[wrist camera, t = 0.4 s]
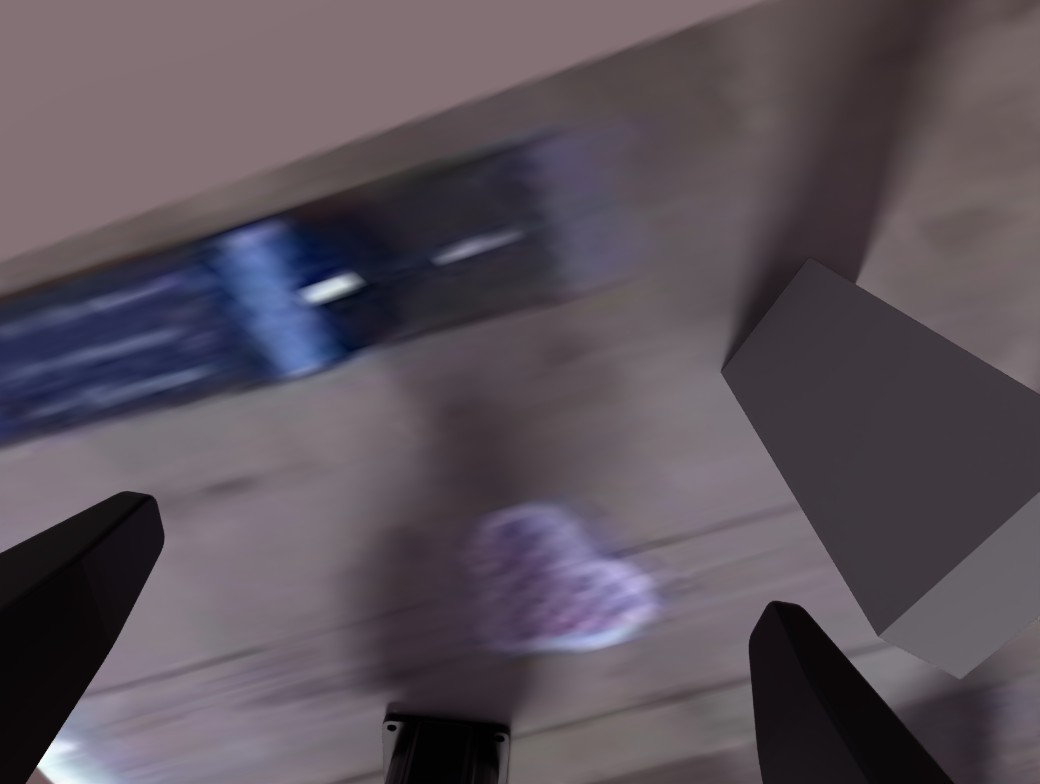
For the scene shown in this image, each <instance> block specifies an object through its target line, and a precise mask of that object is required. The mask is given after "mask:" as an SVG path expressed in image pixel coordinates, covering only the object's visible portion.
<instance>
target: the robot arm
mask: <svg viewBox="0 0 1040 784" xmlns="http://www.w3.org/2000/svg"><path fill="white" fill-rule="evenodd" d="M164 537H165V536H164V530H163V525H162V521H161V517H160V513H159V508H158V504H157V501H156V499H155V498H154V497H153V496H151V495H149V494H143V493H137V492H131V491H124V492H120V493H118V494H116V495H114V496H112V497H110V498H108V499H106V500H104V501H102V502H100V503H98V504H96V505H94V506H92V507H90V508H88V509H86V510H84V511H82V512H80V513H78V514H76V515H74V516H72V517H70V518H69V519H67V520H65V521H63V522H61V523H59V524H57V525H55V526H53V527H51V528H49V529H47V530H45V531H43V532H41V533H39V534H37V535H35V536H33V537H31V538H29V539H27V540H25V541H23V542H21V543H19V544H18V545H16V546H14V547H12V548H10V549H8V550H6V551H4V552H2V553H0V784H26V782H27V780H28V779H29V777H30V776H31V774H32V773H33V771H34V770H35V768H36V766H37V765H38V763H39V762H40V760H41V759H42V757H43V756H44V754H45V752H46V751H47V749H48V748H49V746H50V745H51V743H52V741H53V740H54V738H55V737H56V735H57V734H58V732H59V731H60V729H61V727H62V726H63V724H64V723H65V721H66V720H67V718H68V717H69V715H70V713H71V712H72V710H73V709H74V707H75V706H76V704H77V703H78V701H79V699H80V698H81V696H82V695H83V693H84V692H85V690H86V688H87V687H88V685H89V684H90V682H91V681H92V679H93V678H94V676H95V674H96V673H97V671H98V670H99V668H100V667H101V665H102V664H103V662H104V660H105V659H106V657H107V655H108V654H109V652H110V650H111V649H112V647H113V645H114V643H115V641H116V640H117V638H118V636H119V634H120V632H121V630H122V628H123V626H124V624H125V622H126V620H127V618H128V616H129V614H130V612H131V610H132V608H133V607H134V605H135V603H136V601H137V599H138V597H139V595H140V593H141V591H142V589H143V587H144V585H145V583H146V581H147V579H148V577H149V575H150V573H151V571H152V569H153V567H154V565H155V563H156V561H157V559H158V557H159V555H160V553H161V551H162V548H163V545H164ZM749 660H750V672H751V684H752V695H753V707H754V718H755V730H756V741H757V750H758V758H759V764H760V770H761V776H762V781H763V784H956V783H955V782H954V781H953V780H952V779H951V778H950V776H949V775H948V774H947V773H946V772H945V771H944V770H943V768H942V767H941V766H940V765H939V764H938V763H937V761H936V760H935V759H934V758H933V757H932V756H931V755H930V753H929V752H928V751H927V750H926V749H925V748H924V746H923V745H922V744H921V743H920V742H919V741H918V740H917V738H916V737H915V736H914V735H913V734H912V733H911V731H910V730H909V729H908V728H907V727H906V726H905V724H904V723H903V722H902V721H901V720H900V719H899V718H898V716H897V715H896V714H895V713H894V712H893V711H892V709H891V708H890V707H889V706H888V705H887V704H886V703H885V701H884V700H883V699H882V698H881V697H880V696H879V694H878V693H877V692H876V691H875V690H874V689H873V688H872V686H871V685H870V684H869V683H868V682H867V681H866V679H865V678H864V677H863V676H862V675H861V674H860V673H859V671H858V670H857V669H856V668H855V667H854V666H853V664H852V663H851V662H850V661H849V660H848V659H847V658H846V656H845V655H844V654H843V653H842V652H841V651H840V649H839V648H838V647H837V646H836V645H835V644H834V643H833V641H832V640H831V639H830V638H829V637H828V636H827V634H826V633H825V632H824V631H823V630H822V629H821V628H820V626H819V625H818V624H817V623H816V622H815V621H814V619H813V618H812V617H811V616H810V615H809V614H808V612H807V611H806V610H805V609H804V608H802V607H801V606H800V605H797V604H793V603H787V602H782V601H772V602H770V603H768V605H767V606H766V608H765V610H764V611H763V613H762V615H761V617H760V619H759V620H758V622H757V624H756V626H755V628H754V629H753V631H752V633H751V636H750V639H749ZM382 739H383V763H384V784H506V779H507V767H508V754H509V742H510V730H509V729H508V728H507V727H506V726H503V725H495V724H486V723H476V722H466V721H456V720H446V719H436V718H426V717H416V716H407V715H397V714H389V715H387V716H386V717H385V718H384V722H383V725H382Z"/></svg>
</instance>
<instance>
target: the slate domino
mask: <svg viewBox="0 0 1040 784" xmlns="http://www.w3.org/2000/svg"><path fill="white" fill-rule="evenodd" d="M721 374H722V375H723V377H724V379H725V380H726V382H727V384H728V385H729V387H730V389H731V390H732V392H733V394H734V395H735V397H736V399H737V400H738V402H739V404H740V406H741V407H742V409H743V411H744V412H745V414H746V416H747V417H748V419H749V421H750V422H751V424H752V426H753V427H754V429H755V431H756V432H757V434H758V436H759V437H760V439H761V441H762V442H763V444H764V446H765V448H766V449H767V451H768V453H769V454H770V456H771V458H772V459H773V461H774V463H775V464H776V466H777V468H778V469H779V471H780V473H781V474H782V476H783V478H784V479H785V481H786V483H787V484H788V486H789V488H790V490H791V491H792V493H793V495H794V496H795V498H796V500H797V501H798V503H799V505H800V506H801V508H802V510H803V511H804V513H805V515H806V516H807V518H808V520H809V521H810V523H811V525H812V526H813V528H814V530H815V532H816V533H817V535H818V537H819V538H820V540H821V542H822V543H823V545H824V547H825V548H826V550H827V552H828V553H829V555H830V557H831V558H832V560H833V562H834V563H835V565H836V567H837V568H838V570H839V572H840V574H841V575H842V577H843V579H844V580H845V582H846V584H847V585H848V587H849V589H850V590H851V592H852V594H853V595H854V597H855V599H856V600H857V602H858V604H859V605H860V607H861V609H862V610H863V612H864V614H865V616H866V617H867V619H868V621H869V622H870V624H871V626H872V627H873V629H874V631H875V632H876V634H877V636H878V637H880V638H882V639H884V640H885V641H887V642H889V643H891V644H893V645H895V646H897V647H899V648H901V649H903V650H905V651H907V652H908V653H910V654H912V655H914V656H916V657H918V658H920V659H922V660H924V661H926V662H928V663H930V664H931V665H933V666H935V667H937V668H939V669H941V670H943V671H945V672H947V673H949V674H951V675H953V676H954V677H956V678H958V679H960V680H961V679H962V678H963V677H964V676H966V675H967V674H968V673H969V672H971V671H972V670H973V669H974V668H975V667H977V666H978V665H979V664H980V663H982V662H983V661H984V660H985V659H987V658H988V657H989V656H990V655H992V654H993V653H994V652H995V651H997V650H998V649H999V648H1000V647H1002V646H1003V645H1004V644H1005V643H1007V642H1008V641H1009V640H1010V639H1012V638H1013V637H1014V636H1015V635H1017V634H1018V633H1019V632H1020V631H1022V630H1023V629H1024V628H1025V627H1027V626H1028V625H1029V624H1030V623H1032V622H1033V621H1034V620H1035V619H1037V618H1038V617H1039V616H1040V394H1038V393H1036V392H1035V391H1033V390H1031V389H1030V388H1028V387H1026V386H1025V385H1023V384H1021V383H1020V382H1018V381H1016V380H1015V379H1013V378H1011V377H1010V376H1008V375H1006V374H1005V373H1003V372H1001V371H999V370H998V369H996V368H994V367H993V366H991V365H989V364H988V363H986V362H984V361H983V360H981V359H979V358H978V357H976V356H974V355H973V354H971V353H969V352H968V351H966V350H964V349H963V348H961V347H959V346H958V345H956V344H954V343H953V342H951V341H949V340H948V339H946V338H944V337H943V336H941V335H939V334H938V333H936V332H934V331H933V330H931V329H929V328H928V327H926V326H924V325H923V324H921V323H919V322H918V321H916V320H914V319H913V318H911V317H909V316H908V315H906V314H904V313H902V312H901V311H899V310H897V309H896V308H894V307H892V306H891V305H889V304H887V303H886V302H884V301H882V300H881V299H879V298H877V297H876V296H874V295H872V294H871V293H869V292H867V291H866V290H864V289H862V288H861V287H859V286H857V285H856V284H854V283H852V282H851V281H849V280H847V279H846V278H844V277H842V276H841V275H839V274H837V273H836V272H834V271H832V270H831V269H829V268H827V267H826V266H824V265H822V264H821V263H819V262H817V261H816V260H814V259H812V258H811V257H809V258H808V259H807V260H806V262H805V263H804V264H803V266H802V267H801V268H800V270H799V271H798V272H797V274H796V275H795V276H794V277H793V279H792V280H791V281H790V283H789V284H788V285H787V287H786V288H785V289H784V290H783V292H782V293H781V294H780V296H779V297H778V298H777V300H776V301H775V302H774V304H773V305H772V306H771V307H770V309H769V310H768V311H767V313H766V314H765V315H764V317H763V318H762V319H761V321H760V322H759V323H758V324H757V326H756V327H755V328H754V330H753V331H752V332H751V334H750V335H749V336H748V337H747V339H746V340H745V341H744V343H743V344H742V345H741V347H740V348H739V349H738V351H737V352H736V353H735V354H734V356H733V357H732V358H731V360H730V361H729V362H728V364H727V365H726V366H725V368H724V369H723V370H722V371H721Z"/></svg>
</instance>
